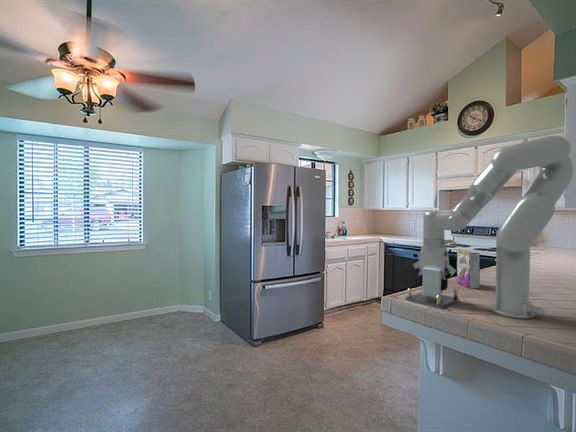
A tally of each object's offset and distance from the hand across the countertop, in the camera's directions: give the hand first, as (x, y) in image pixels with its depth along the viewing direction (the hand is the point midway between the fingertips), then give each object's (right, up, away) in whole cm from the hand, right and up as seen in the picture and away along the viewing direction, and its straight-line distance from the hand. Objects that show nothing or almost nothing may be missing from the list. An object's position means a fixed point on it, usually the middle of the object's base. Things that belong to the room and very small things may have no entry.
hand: (433, 287), depth 122 cm
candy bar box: (+27, -5, +24) cm, 36 cm away
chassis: (0, -5, 0) cm, 5 cm away
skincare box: (0, -3, 0) cm, 3 cm away
